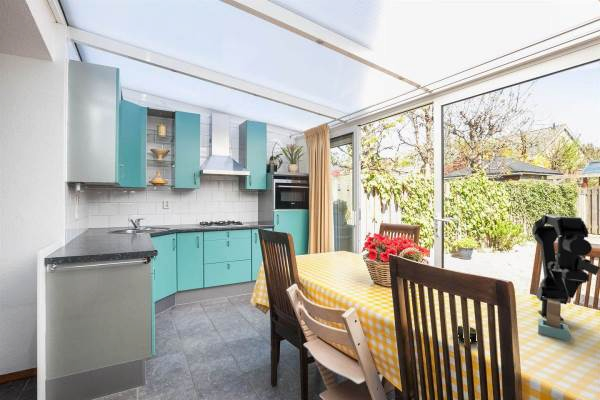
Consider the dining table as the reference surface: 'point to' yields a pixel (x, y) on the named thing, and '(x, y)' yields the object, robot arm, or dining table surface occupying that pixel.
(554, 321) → the square wooden post
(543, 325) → the square teal collar
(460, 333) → the tape measure
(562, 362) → the dining table surface
